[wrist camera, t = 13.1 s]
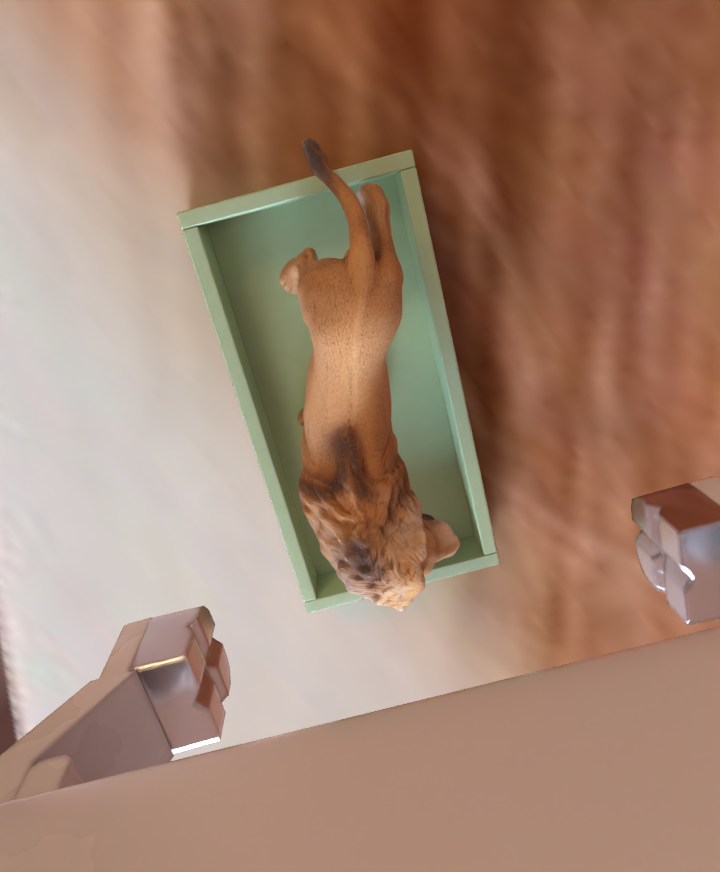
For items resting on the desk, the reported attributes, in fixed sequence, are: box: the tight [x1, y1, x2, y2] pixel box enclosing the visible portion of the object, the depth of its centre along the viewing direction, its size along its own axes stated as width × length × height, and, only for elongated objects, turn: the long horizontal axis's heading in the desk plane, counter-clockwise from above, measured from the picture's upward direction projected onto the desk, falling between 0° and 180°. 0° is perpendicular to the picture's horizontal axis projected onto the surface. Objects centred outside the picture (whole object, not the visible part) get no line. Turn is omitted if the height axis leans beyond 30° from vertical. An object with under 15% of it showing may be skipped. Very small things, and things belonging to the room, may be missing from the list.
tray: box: [177, 150, 500, 613], centre depth 27 cm, size 17×9×2 cm, turn 14°
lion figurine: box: [280, 138, 460, 611], centre depth 23 cm, size 15×5×9 cm, turn 10°
